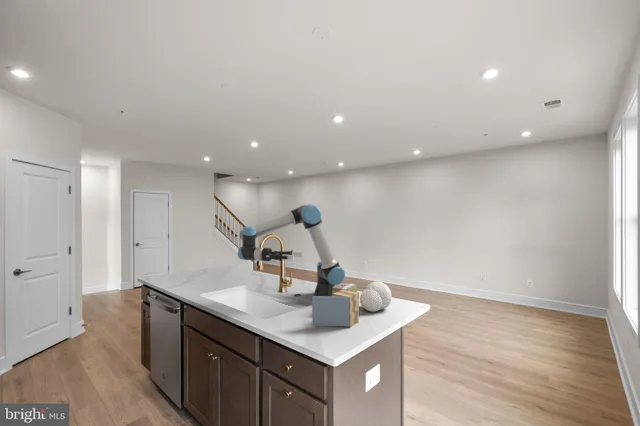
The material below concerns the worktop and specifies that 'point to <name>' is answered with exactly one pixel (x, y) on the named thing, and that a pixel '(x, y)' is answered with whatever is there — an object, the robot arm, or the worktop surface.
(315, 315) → the flap
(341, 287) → the tea box
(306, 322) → the worktop surface
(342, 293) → the carton
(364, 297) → the cauliflower
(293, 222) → the robot arm
